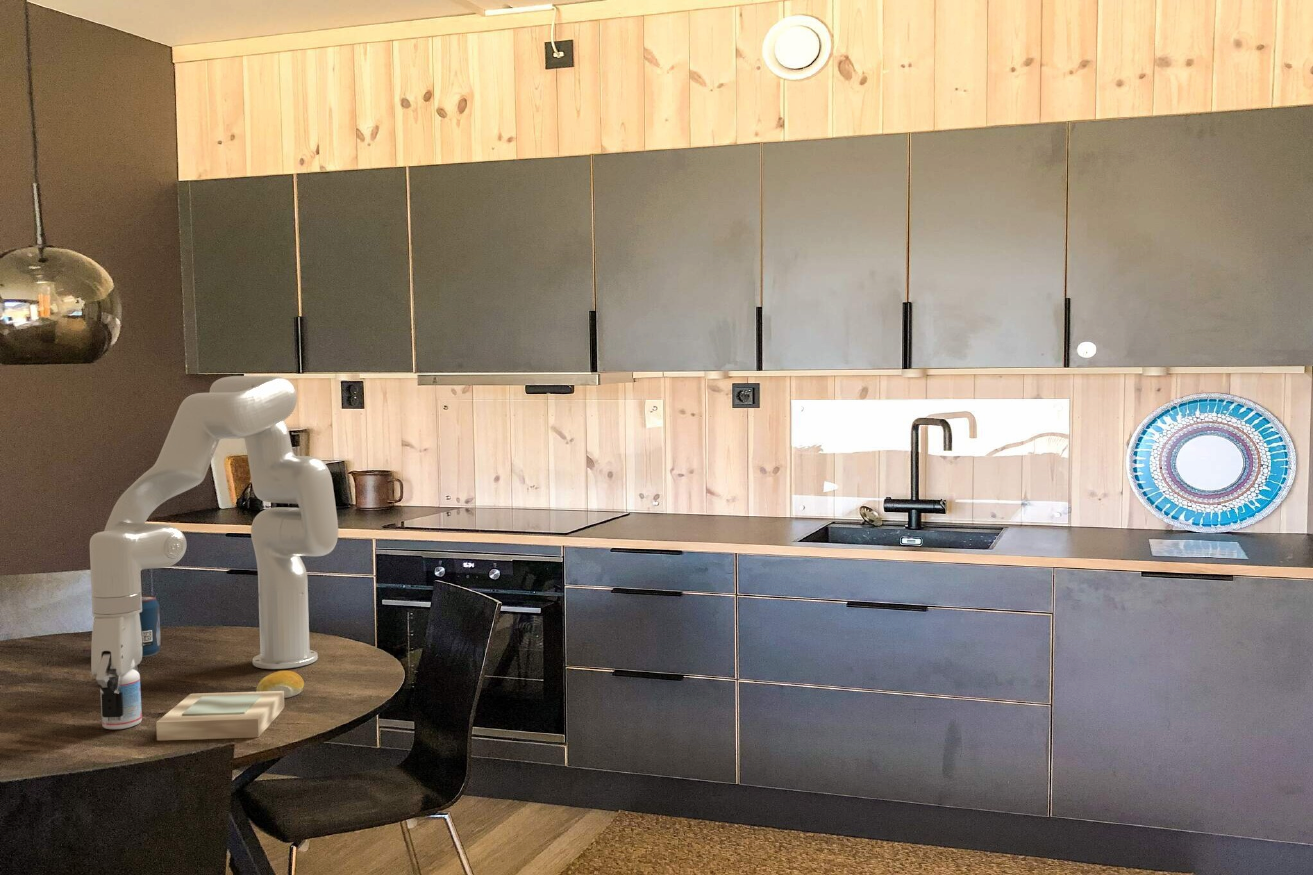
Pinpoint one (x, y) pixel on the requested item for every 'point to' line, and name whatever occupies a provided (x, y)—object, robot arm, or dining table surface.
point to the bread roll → (282, 683)
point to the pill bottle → (127, 701)
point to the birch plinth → (221, 715)
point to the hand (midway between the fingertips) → (121, 709)
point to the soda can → (150, 626)
